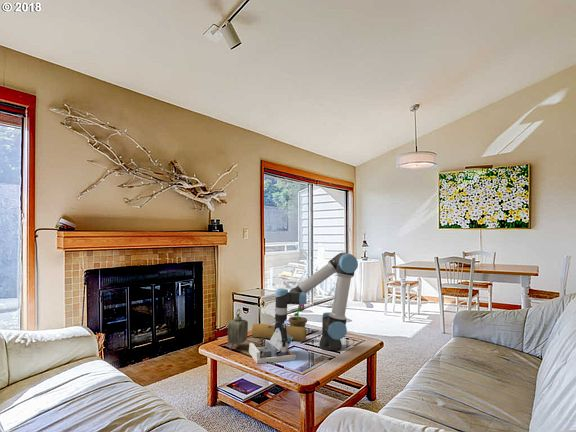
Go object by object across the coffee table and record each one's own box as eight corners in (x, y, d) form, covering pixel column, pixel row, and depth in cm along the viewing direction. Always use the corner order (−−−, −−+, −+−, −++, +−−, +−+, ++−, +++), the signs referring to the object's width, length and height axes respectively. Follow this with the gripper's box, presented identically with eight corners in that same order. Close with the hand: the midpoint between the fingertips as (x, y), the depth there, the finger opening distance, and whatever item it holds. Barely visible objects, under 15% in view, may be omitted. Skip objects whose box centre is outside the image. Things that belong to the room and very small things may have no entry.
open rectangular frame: (284, 348, 233) (284, 339, 233) (295, 359, 214) (295, 349, 214) (248, 351, 225) (249, 342, 225) (257, 363, 206) (257, 353, 206)
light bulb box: (285, 353, 219) (293, 337, 221) (279, 350, 215) (287, 334, 217) (274, 345, 227) (282, 329, 229) (268, 342, 222) (276, 326, 225)
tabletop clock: (235, 343, 240) (236, 306, 241) (247, 344, 238) (248, 307, 239) (227, 350, 226) (228, 311, 227) (240, 352, 224) (241, 312, 225)
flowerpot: (300, 336, 260) (301, 295, 262) (284, 332, 268) (285, 293, 269) (310, 332, 272) (311, 292, 274) (294, 328, 280) (295, 290, 281)
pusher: (267, 350, 227) (267, 341, 228) (276, 360, 211) (276, 349, 211) (259, 351, 226) (259, 341, 226) (267, 361, 209) (267, 350, 209)
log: (306, 338, 256) (306, 325, 256) (304, 343, 246) (304, 328, 247) (255, 334, 263) (255, 321, 263) (251, 338, 253) (252, 324, 254)
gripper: (269, 309, 232) (268, 342, 232) (281, 318, 210) (280, 355, 209) (280, 309, 235) (279, 341, 234) (293, 318, 212) (292, 354, 211)
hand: (279, 348), depth 221 cm, fingers closed on light bulb box, 12 cm apart
